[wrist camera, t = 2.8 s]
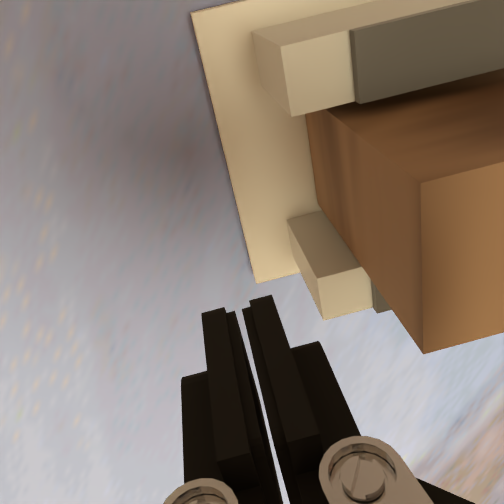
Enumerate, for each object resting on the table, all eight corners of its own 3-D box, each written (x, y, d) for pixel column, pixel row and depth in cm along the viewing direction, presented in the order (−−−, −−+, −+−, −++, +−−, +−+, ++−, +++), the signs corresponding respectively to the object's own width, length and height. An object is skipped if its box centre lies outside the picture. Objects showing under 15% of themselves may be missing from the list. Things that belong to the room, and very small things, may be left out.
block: (317, 203, 21) (423, 354, 13) (301, 90, 19) (420, 183, 10) (466, 165, 21) (668, 286, 13) (470, 48, 19) (727, 103, 10)
